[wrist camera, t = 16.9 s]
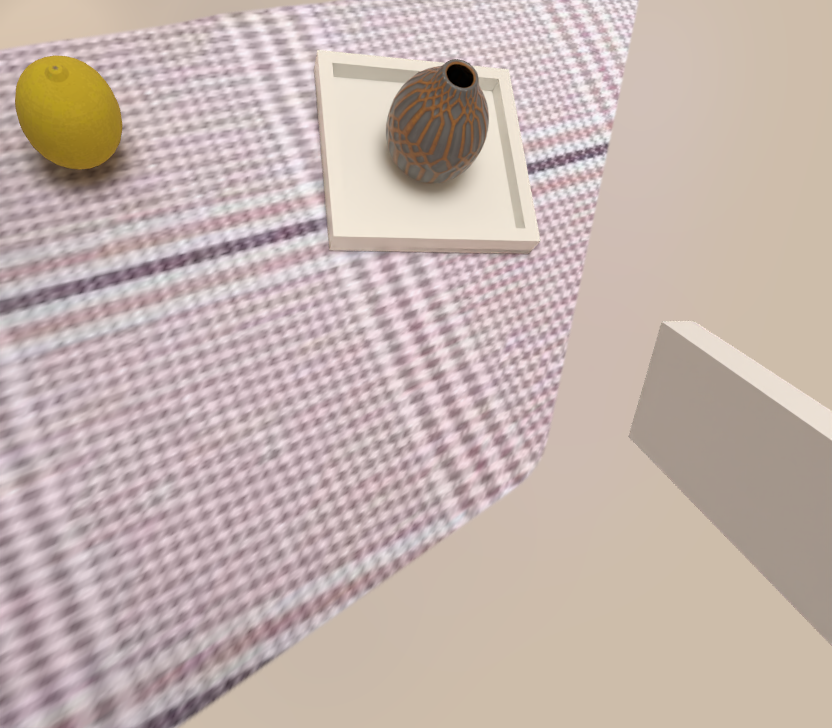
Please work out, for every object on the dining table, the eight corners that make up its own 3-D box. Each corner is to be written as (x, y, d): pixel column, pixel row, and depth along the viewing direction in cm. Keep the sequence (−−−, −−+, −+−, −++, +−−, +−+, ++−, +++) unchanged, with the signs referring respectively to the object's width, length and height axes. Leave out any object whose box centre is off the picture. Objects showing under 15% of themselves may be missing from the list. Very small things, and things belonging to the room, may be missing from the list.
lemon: (147, 150, 45) (132, 65, 37) (93, 208, 43) (65, 129, 35) (75, 104, 44) (45, 9, 37) (16, 160, 42) (-28, 70, 35)
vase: (485, 171, 51) (533, 93, 43) (418, 214, 48) (456, 139, 40) (427, 104, 51) (464, 14, 43) (358, 142, 49) (384, 54, 41)
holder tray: (329, 250, 46) (333, 236, 44) (314, 69, 50) (317, 49, 48) (529, 253, 50) (540, 241, 48) (499, 86, 54) (508, 69, 53)
